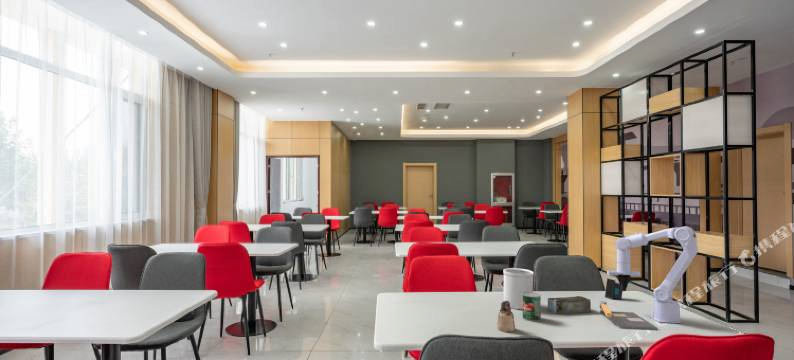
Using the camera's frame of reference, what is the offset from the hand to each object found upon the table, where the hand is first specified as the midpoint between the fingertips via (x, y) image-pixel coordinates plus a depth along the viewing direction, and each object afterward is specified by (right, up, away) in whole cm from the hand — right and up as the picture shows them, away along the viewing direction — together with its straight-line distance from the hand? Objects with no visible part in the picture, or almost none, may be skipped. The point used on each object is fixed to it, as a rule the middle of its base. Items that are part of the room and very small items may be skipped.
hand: (623, 290), depth 196 cm
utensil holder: (-49, -10, +8) cm, 50 cm away
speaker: (+9, -11, +25) cm, 29 cm away
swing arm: (-14, -7, -10) cm, 18 cm away
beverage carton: (-26, -11, +1) cm, 28 cm away
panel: (-6, -10, -13) cm, 18 cm away
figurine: (-64, -9, -26) cm, 70 cm away
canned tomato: (-48, -10, -12) cm, 51 cm away
